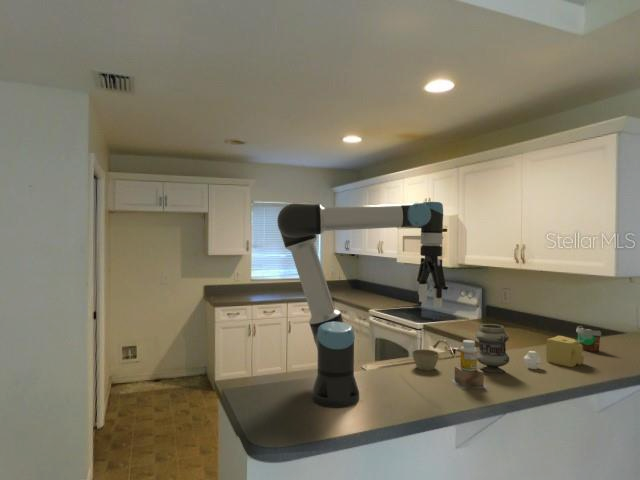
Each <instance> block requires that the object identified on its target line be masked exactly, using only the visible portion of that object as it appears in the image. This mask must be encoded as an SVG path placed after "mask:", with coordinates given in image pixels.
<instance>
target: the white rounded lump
mask: <svg viewBox="0 0 640 480" xmlns="http://www.w3.org/2000/svg"><path fill="white" fill-rule="evenodd" d="M523 360H524V363H525V365H526V366H527V368H528V369H530V370H537V369H538V368H539V366H540V365H541V362H542V359H541V358H540V356H539V355H538V352H537V351H534V350H530V351H527V354H526V355H524V357H523Z"/></svg>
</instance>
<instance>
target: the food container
mask: <svg viewBox="0 0 640 480" xmlns="http://www.w3.org/2000/svg"><path fill="white" fill-rule="evenodd" d="M575 330H576V331H575V332H576V333H577V341H578V342H579V344H580V345H582V347H583V351H584V352H589V353H599V352H600V342H601V337H602V332H601V330H593V329H590V328H584V327H583V325H579V326H577V327H576V329H575ZM583 351H582V352H583Z"/></svg>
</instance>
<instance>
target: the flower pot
mask: <svg viewBox="0 0 640 480" xmlns="http://www.w3.org/2000/svg"><path fill="white" fill-rule="evenodd" d="M439 356H440V353H439V352H438V351H436V350H432V349H422V348H421V349H415V350H413V351H412V358H413V361H414V364H415V366H416V368H417V369H418V370H420V371H433V370H435V368H436V366H437V364H438V361H439Z"/></svg>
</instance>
